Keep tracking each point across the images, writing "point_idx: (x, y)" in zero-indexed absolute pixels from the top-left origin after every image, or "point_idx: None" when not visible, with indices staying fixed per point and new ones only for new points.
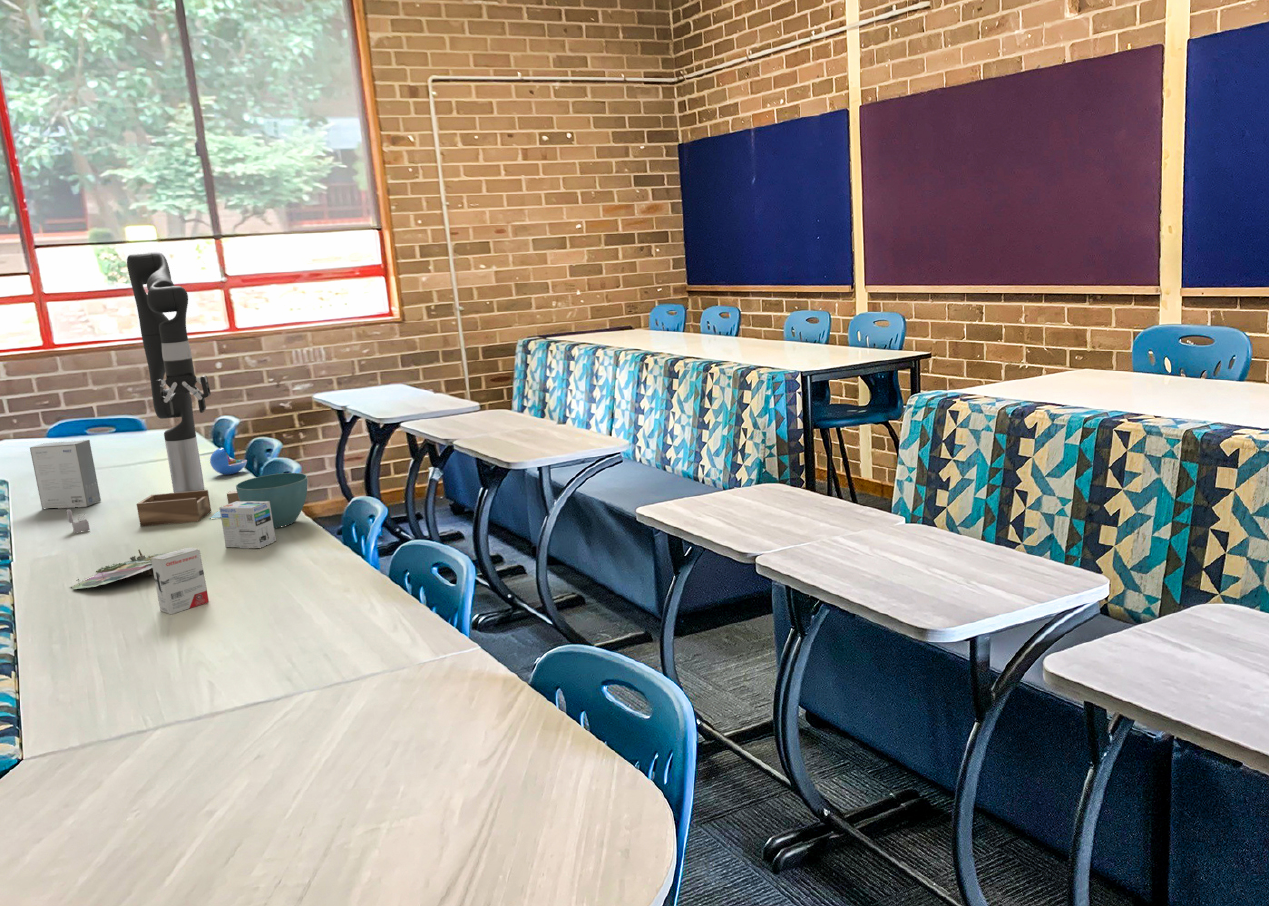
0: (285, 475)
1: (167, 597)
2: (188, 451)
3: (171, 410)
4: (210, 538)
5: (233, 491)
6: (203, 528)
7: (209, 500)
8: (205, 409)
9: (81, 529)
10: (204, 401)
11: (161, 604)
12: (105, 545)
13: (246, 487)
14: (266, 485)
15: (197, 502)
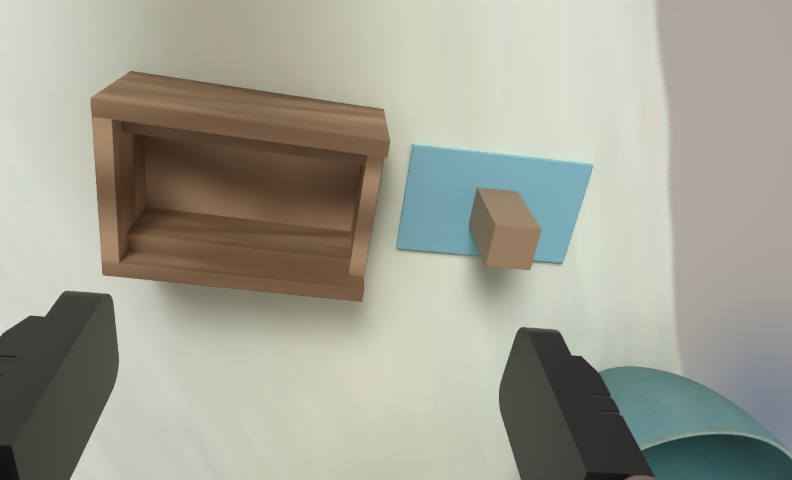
0: (745, 430)
1: None
2: None
3: (93, 406)
4: (430, 456)
5: (512, 233)
6: (393, 351)
7: (386, 124)
8: (580, 361)
9: None
10: (634, 472)
11: None
12: (115, 413)
13: None
14: (654, 412)
15: (362, 265)
